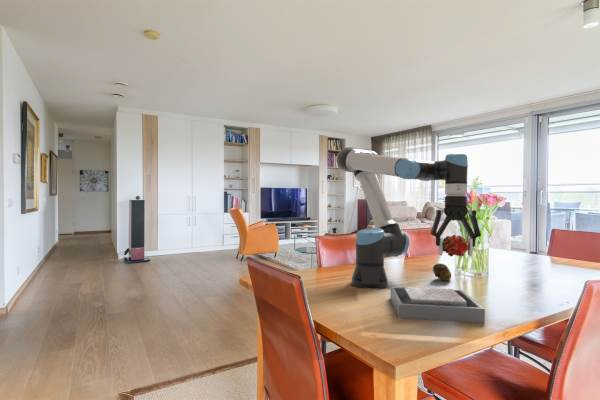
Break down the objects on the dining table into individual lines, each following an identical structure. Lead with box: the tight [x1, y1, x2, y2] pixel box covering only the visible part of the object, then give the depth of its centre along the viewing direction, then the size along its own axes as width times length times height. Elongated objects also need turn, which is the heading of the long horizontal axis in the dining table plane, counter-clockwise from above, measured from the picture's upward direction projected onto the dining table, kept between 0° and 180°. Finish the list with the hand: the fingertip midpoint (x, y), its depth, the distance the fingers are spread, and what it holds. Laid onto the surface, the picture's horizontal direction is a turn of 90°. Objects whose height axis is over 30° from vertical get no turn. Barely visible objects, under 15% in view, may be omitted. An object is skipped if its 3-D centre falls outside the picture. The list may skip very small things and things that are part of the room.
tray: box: [389, 286, 486, 324], centre depth 109 cm, size 24×20×5 cm
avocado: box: [432, 263, 452, 281], centre depth 151 cm, size 8×13×8 cm, turn 128°
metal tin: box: [403, 286, 466, 307], centre depth 109 cm, size 16×14×5 cm
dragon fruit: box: [442, 234, 469, 257], centre depth 126 cm, size 8×8×12 cm
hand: (455, 255), depth 126 cm, fingers closed on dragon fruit, 10 cm apart
